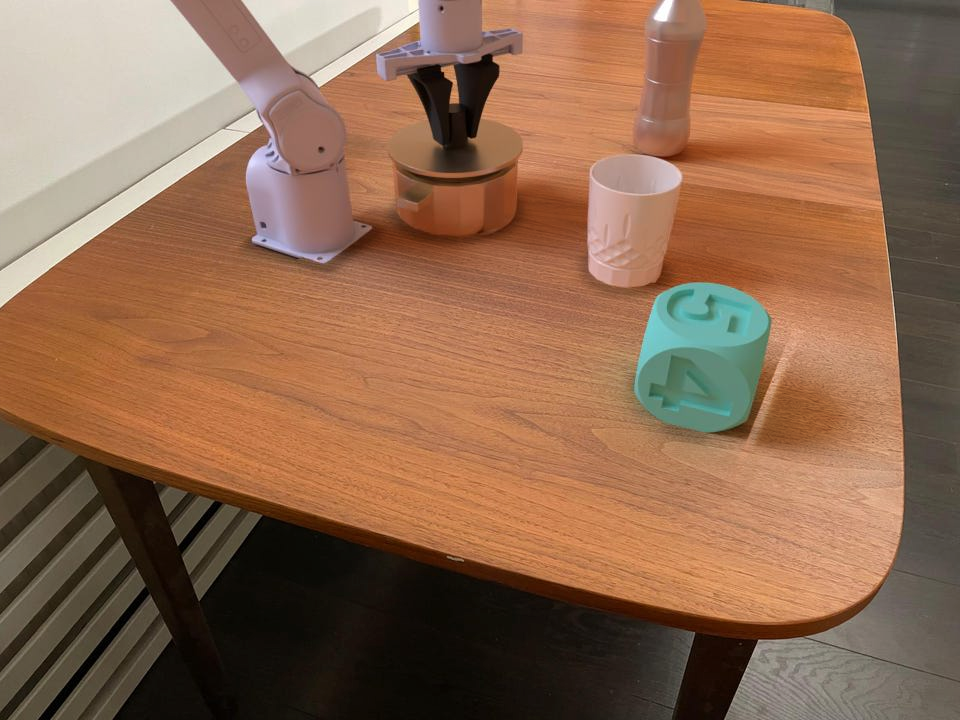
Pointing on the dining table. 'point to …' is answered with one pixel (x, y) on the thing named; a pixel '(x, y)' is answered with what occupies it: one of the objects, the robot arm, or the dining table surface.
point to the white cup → (630, 217)
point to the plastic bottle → (668, 76)
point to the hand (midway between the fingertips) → (454, 138)
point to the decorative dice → (702, 356)
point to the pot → (457, 201)
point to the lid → (455, 147)
